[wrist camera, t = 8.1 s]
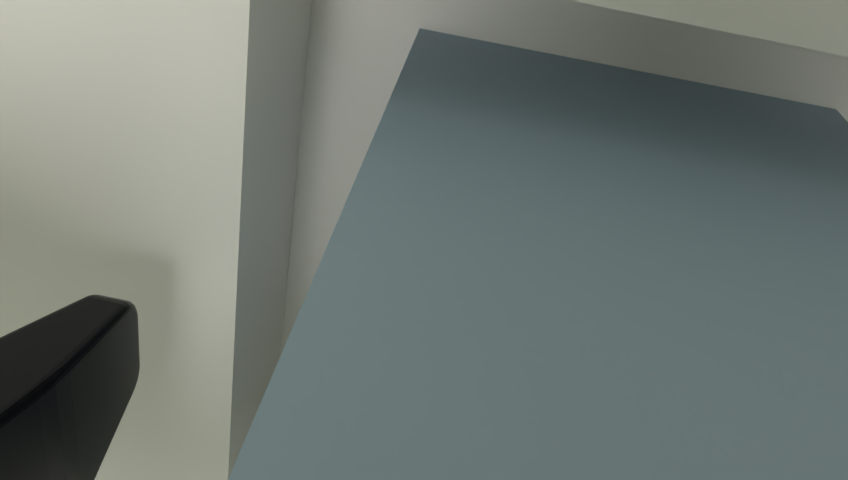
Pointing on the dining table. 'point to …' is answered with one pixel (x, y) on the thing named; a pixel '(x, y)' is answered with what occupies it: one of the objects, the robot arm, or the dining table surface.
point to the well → (274, 161)
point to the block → (572, 285)
